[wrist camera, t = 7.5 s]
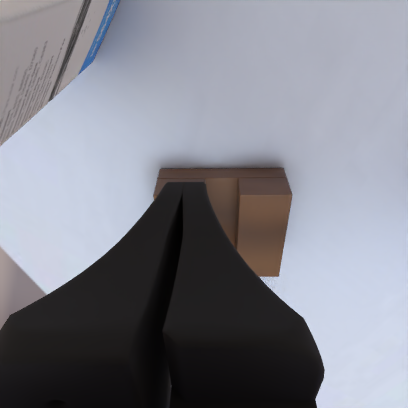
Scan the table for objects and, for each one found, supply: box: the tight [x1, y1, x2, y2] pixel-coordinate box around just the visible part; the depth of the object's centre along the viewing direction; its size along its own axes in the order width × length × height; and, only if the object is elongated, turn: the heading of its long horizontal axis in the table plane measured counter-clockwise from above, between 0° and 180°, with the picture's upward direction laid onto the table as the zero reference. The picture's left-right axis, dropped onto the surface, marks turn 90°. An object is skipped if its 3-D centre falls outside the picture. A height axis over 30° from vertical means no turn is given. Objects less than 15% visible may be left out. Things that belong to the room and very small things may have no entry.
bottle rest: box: [153, 168, 292, 277], centre depth 23 cm, size 7×8×3 cm
